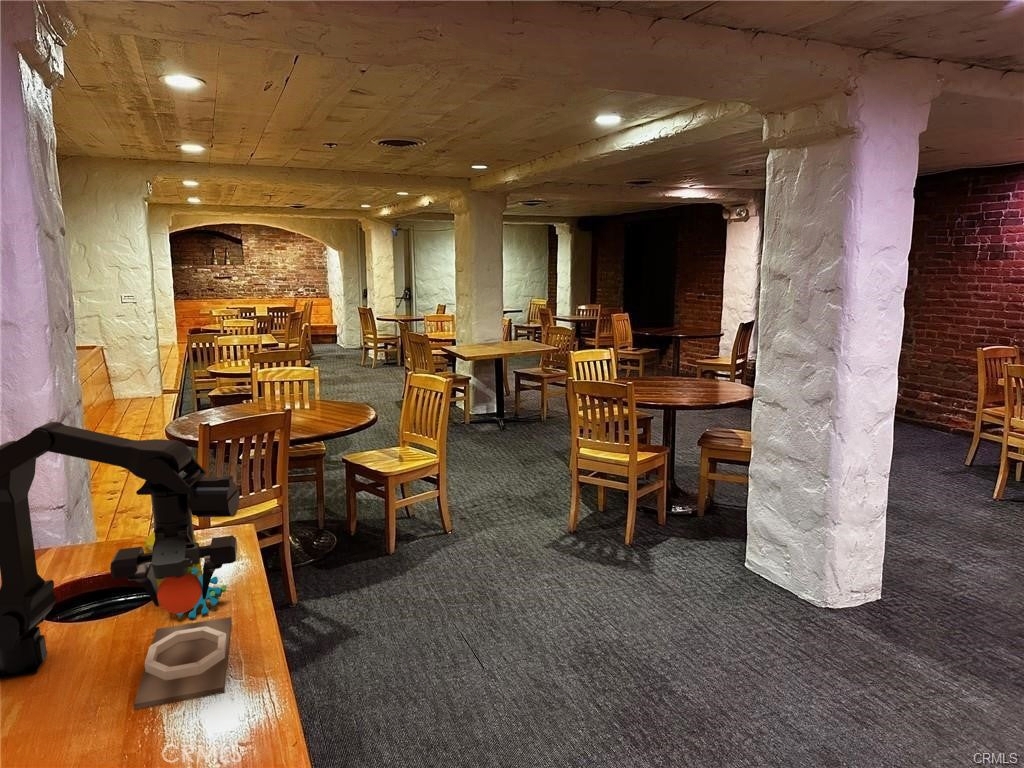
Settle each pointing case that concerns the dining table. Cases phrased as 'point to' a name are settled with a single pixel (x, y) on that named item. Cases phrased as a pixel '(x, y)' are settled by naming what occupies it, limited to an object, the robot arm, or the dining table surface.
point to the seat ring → (185, 669)
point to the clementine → (179, 593)
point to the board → (180, 654)
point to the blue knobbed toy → (211, 594)
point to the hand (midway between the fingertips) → (181, 601)
